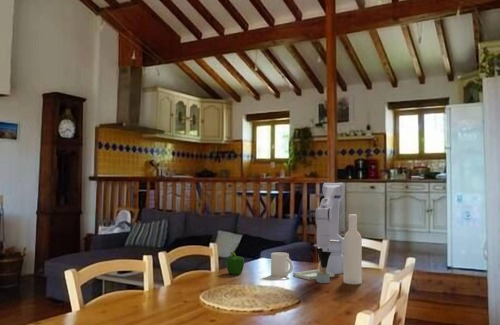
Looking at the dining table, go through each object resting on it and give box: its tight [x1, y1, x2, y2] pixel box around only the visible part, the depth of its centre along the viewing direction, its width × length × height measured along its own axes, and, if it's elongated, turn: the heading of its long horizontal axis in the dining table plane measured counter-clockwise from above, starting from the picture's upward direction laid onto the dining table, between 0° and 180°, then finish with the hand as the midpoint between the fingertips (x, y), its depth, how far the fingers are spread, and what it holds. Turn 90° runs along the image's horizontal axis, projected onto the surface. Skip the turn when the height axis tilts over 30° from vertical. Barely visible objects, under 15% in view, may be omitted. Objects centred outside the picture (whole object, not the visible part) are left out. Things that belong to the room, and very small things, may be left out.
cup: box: [316, 273, 331, 284], centre depth 201 cm, size 6×6×4 cm
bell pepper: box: [225, 252, 245, 275], centre depth 218 cm, size 8×8×10 cm
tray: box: [293, 269, 336, 281], centre depth 213 cm, size 16×11×2 cm
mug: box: [270, 251, 294, 278], centre depth 213 cm, size 12×8×10 cm
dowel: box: [319, 260, 327, 275], centre depth 201 cm, size 3×3×9 cm
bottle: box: [342, 213, 363, 285], centre depth 201 cm, size 8×8×30 cm
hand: (323, 266), depth 201 cm, fingers open, 7 cm apart
